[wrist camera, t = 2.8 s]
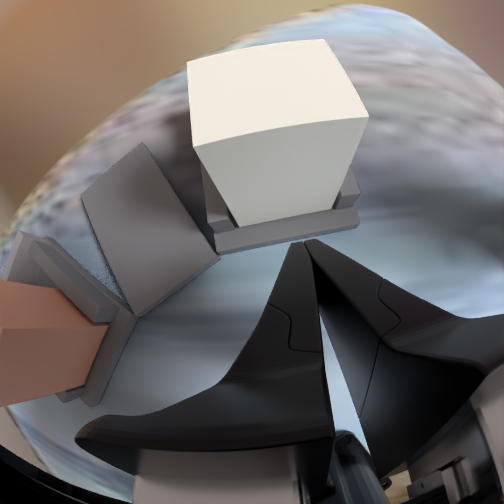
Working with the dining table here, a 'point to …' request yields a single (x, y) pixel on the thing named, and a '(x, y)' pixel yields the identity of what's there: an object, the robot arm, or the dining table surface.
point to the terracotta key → (43, 342)
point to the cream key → (275, 127)
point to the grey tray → (151, 250)
